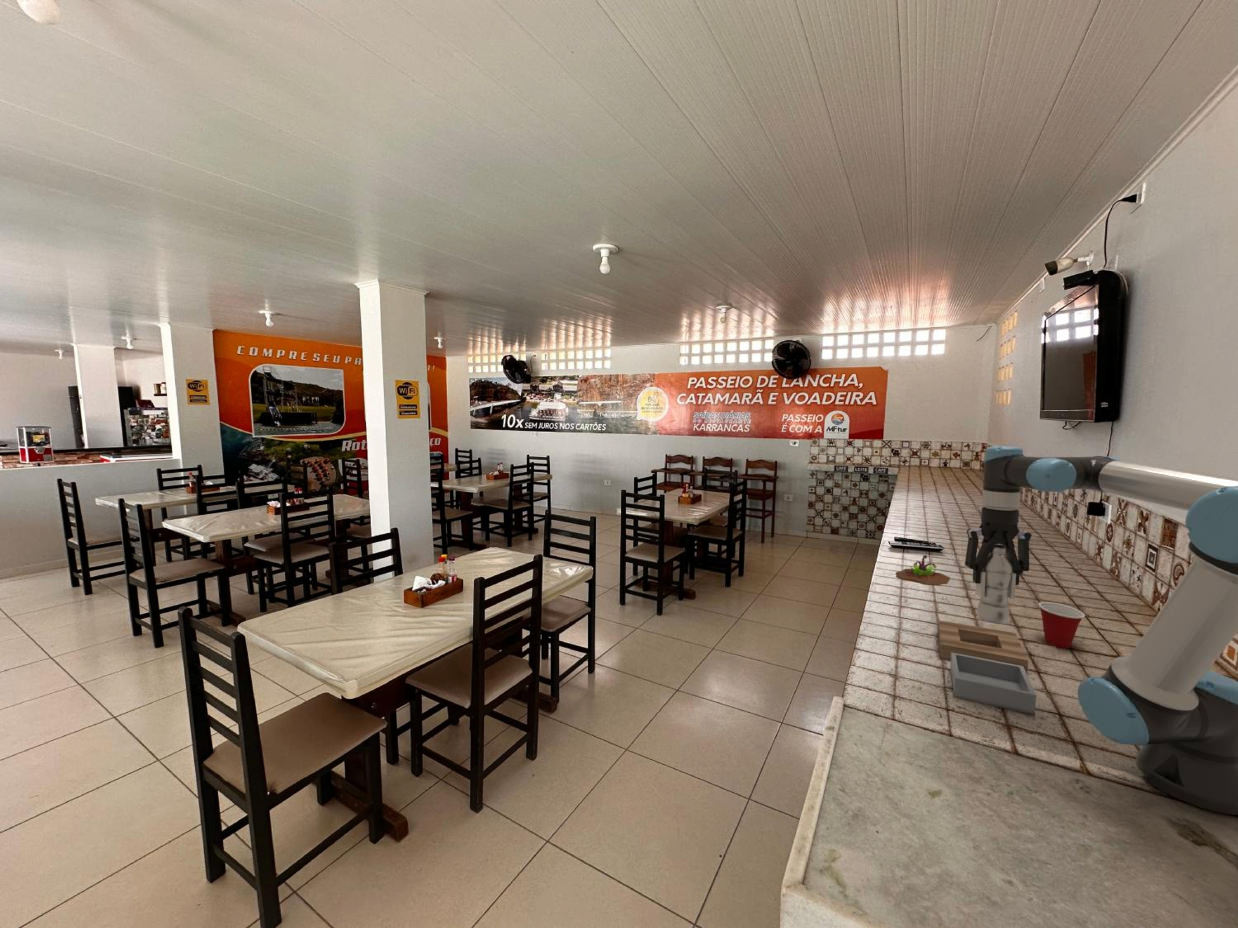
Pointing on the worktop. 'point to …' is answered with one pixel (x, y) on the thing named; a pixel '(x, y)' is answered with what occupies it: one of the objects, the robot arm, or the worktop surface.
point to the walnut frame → (980, 643)
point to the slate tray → (992, 683)
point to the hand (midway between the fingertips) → (994, 596)
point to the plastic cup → (1059, 623)
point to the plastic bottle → (996, 587)
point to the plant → (923, 574)
